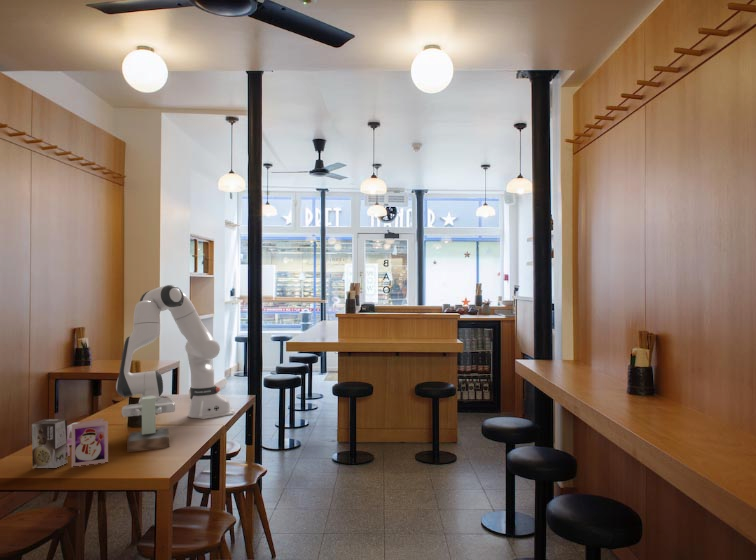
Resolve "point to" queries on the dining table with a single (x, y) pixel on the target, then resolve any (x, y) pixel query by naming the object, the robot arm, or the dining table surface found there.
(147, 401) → the sage pillar
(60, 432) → the coffee box
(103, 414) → the dining table surface
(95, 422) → the greeting card
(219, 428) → the dining table surface
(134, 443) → the walnut plinth
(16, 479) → the dining table surface
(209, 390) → the robot arm
